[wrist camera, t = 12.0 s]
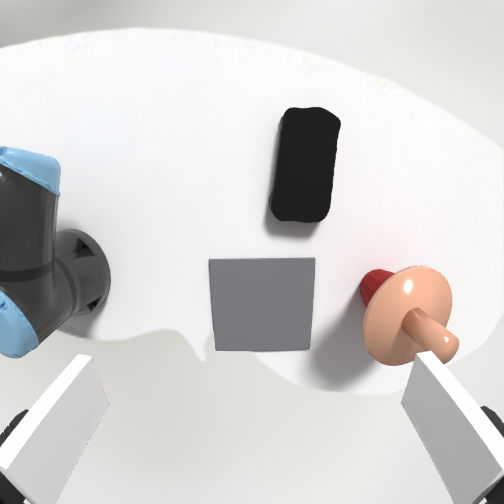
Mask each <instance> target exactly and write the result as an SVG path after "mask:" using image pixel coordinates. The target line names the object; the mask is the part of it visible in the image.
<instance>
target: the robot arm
mask: <svg viewBox="0 0 504 504" xmlns="http://www.w3.org/2000/svg"><path fill="white" fill-rule="evenodd" d="M60 174H61V167H60V164H59V162H58V161H57V160H56V159H55V158H53V157H50V156H47V155H43V154H39V153H35V152H30V151H26V150H21V149H16V148H10V147H4V146H0V353H1V354H3V355H5V356H7V357H10V358H21V357H23V356H24V355H25V354H27V353H28V352H30V351H31V350H34V349H35V348H37V347H38V345H39V344H40V343H41V342H42V341H44V340H45V339H46V338H47V337H48V336H49V335H50V334H51V333H52V332H54V331H55V330H56V329H57V328H58V327H59V326H60V325H61V324H62V323H64V322H65V321H66V320H67V319H68V318H69V317H73V316H78V315H83V314H87V313H90V312H92V311H93V310H95V309H96V308H97V307H98V306H99V305H101V304H102V303H103V301H104V300H105V299H106V297H107V295H108V292H109V288H110V269H109V265H108V262H107V259H106V257H105V254H104V253H103V251H102V249H101V248H100V246H99V245H98V244H97V242H96V241H95V240H94V239H93V238H91V237H90V236H89V235H87V234H86V233H84V232H82V231H79V230H75V229H68V230H64V231H61V232H58V233H56V221H57V209H58V200H59V197H60V192H59V185H60ZM401 404H402V406H403V408H404V409H405V411H406V413H407V415H408V416H409V418H410V420H411V422H412V423H413V425H414V427H415V429H416V431H417V433H418V434H419V436H420V438H421V440H422V442H423V443H424V445H425V447H426V449H427V451H428V453H429V455H430V457H431V459H432V461H433V462H434V464H435V466H436V468H437V470H438V472H439V474H440V476H441V478H442V480H443V482H444V484H445V486H446V488H447V490H448V492H449V494H450V496H451V498H452V500H453V502H454V504H479V503H480V502H481V501H482V500H483V498H486V500H487V502H486V503H485V504H504V423H503V422H501V419H500V418H499V417H498V416H497V414H496V413H495V412H494V411H492V410H491V409H489V408H487V407H486V406H483V407H479V406H478V405H477V404H476V402H475V401H474V400H473V399H472V397H471V396H470V395H469V394H468V393H467V391H466V390H465V389H464V388H463V387H462V385H461V384H460V383H459V382H458V381H457V380H456V378H455V377H454V376H453V375H452V374H451V373H450V372H449V371H448V369H447V368H446V367H445V366H444V365H443V364H442V362H441V361H440V360H439V359H438V358H437V357H436V356H435V355H434V353H433V352H432V351H427V352H421V353H416V357H415V360H414V364H413V367H412V370H411V374H410V377H409V380H408V383H407V386H406V389H405V393H404V395H403V398H402V401H401ZM108 406H109V402H108V400H107V397H106V395H105V392H104V389H103V386H102V383H101V381H100V378H99V375H98V372H97V369H96V365H95V362H94V359H93V356H88V355H82V354H78V355H77V356H76V357H75V358H74V359H73V360H72V361H71V363H70V364H69V365H68V366H67V367H66V368H65V369H64V370H63V372H62V373H61V374H60V375H59V376H58V377H57V378H56V380H55V381H54V382H53V383H52V384H51V385H50V387H49V388H48V389H47V390H46V391H45V392H44V394H43V395H42V396H41V397H40V398H39V400H38V401H37V402H36V403H35V404H34V406H33V407H32V408H31V409H30V410H24V411H23V412H21V413H20V414H18V415H17V416H16V417H15V418H14V419H13V420H12V421H11V423H10V424H9V425H10V426H7V427H6V429H5V430H4V433H3V432H2V434H1V435H0V504H24V503H23V502H24V500H25V498H26V499H27V500H28V501H29V502H30V503H31V504H56V502H57V500H58V498H59V496H60V494H61V492H62V490H63V488H64V486H65V484H66V483H67V480H68V479H69V477H70V475H71V473H72V471H73V469H74V467H75V466H76V463H77V462H78V460H79V458H80V456H81V454H82V453H83V451H84V449H85V447H86V445H87V444H88V442H89V440H90V438H91V436H92V435H93V433H94V431H95V429H96V428H97V426H98V424H99V422H100V421H101V419H102V417H103V415H104V413H105V412H106V410H107V408H108Z"/></svg>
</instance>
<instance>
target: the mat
mask: <svg viewBox="0 0 504 504" xmlns="http://www.w3.org/2000/svg"><path fill="white" fill-rule="evenodd" d="M209 266H210V283H211V298H212V312H213V325H214V337H215V348H216V351H275V350H302V349H310V340H311V327H312V313H313V297H314V278H315V258H257V259H209Z"/></svg>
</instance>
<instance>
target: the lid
mask: <svg viewBox="0 0 504 504" xmlns="http://www.w3.org/2000/svg"><path fill="white" fill-rule="evenodd" d="M451 308H452V293H451V289H450V286H449V284H448V281H447V280H446V279H445V277H444V276H443V275H442V274H441V273H439V272H437V271H436V270H434V269H432V268H429V267H426V266H412V267H408V268H405V269H403V270H401V271H399V272H397V273H395V274H394V275H392V276H391V277H390V278H389V279H387V280H386V281H385V282H384V283H383V284H382V285H381V286H380V288H379V289H378V290H377V291H376V293H375V294H374V296H373V297H372V299H371V301H370V302H369V304H368V307H367V309H366V312H365V315H364V319H363V323H362V337H363V342H364V344H365V347H366V348H367V350H368V351H369V353H370V354H371V355H372V357H373V358H374V359H375V360H377V361H378V362H380V363H382V364H385V365H390V366H397V365H403V364H406V363H409V362H412V361H414V360H415V357H416V353H421V352H427V351H432V352H433V353H434V355H435V356H436V357H437V358H438V359H439V360H440V361H441V362H442V364H445V363H447V362H449V361H450V360H451V359H452V358H453V357H454V355H455V354H456V352H457V350H458V347H459V340H458V338H457V337H455V336H454V335H453V334H452V333H451V332H449V331H448V330H447V329H446V328H445V327H446V325H447V323H448V320H449V317H450V314H451Z"/></svg>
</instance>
